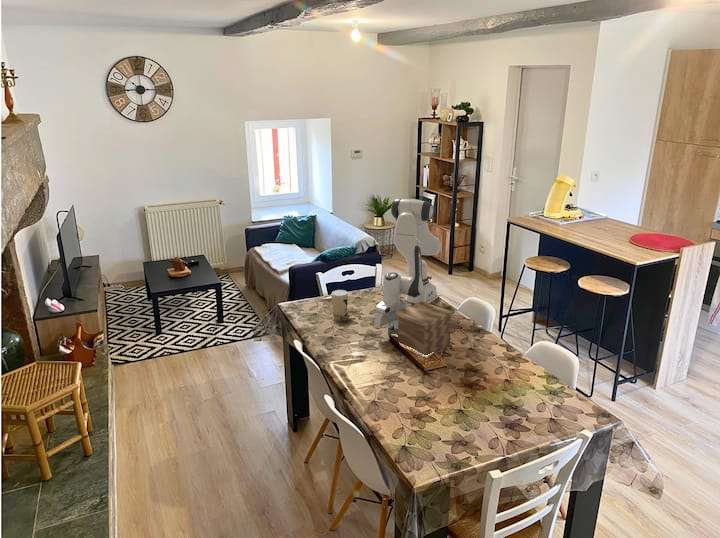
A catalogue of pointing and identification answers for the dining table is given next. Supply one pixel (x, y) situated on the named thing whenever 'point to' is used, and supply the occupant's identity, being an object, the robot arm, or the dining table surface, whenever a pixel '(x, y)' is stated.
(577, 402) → the dining table surface
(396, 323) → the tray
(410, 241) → the robot arm
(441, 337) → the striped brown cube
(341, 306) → the coffee cup
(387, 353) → the dining table surface
